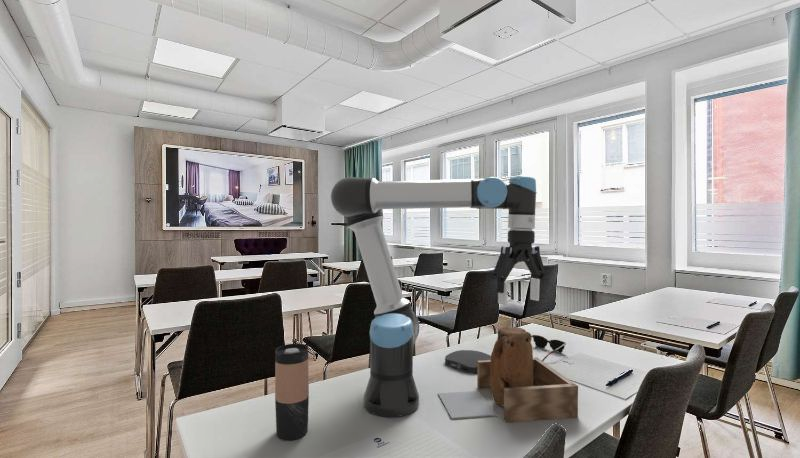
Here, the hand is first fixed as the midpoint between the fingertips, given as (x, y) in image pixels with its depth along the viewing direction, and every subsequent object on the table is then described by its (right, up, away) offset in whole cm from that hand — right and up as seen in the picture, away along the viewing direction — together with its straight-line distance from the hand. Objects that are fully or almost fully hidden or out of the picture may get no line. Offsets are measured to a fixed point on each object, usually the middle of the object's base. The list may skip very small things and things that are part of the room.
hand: (518, 302), depth 113 cm
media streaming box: (-10, -27, +23) cm, 36 cm away
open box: (0, -26, -6) cm, 27 cm away
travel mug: (-60, -27, -22) cm, 70 cm away
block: (-4, -27, -6) cm, 28 cm away
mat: (-17, -27, -8) cm, 33 cm away
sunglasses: (+17, -26, +33) cm, 45 cm away
